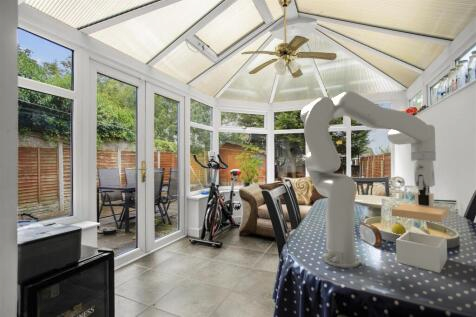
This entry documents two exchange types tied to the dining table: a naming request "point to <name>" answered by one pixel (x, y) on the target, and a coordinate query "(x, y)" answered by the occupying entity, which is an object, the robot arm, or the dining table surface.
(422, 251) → the tub
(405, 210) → the lid
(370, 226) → the tin
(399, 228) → the lemon
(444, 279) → the dining table surface
